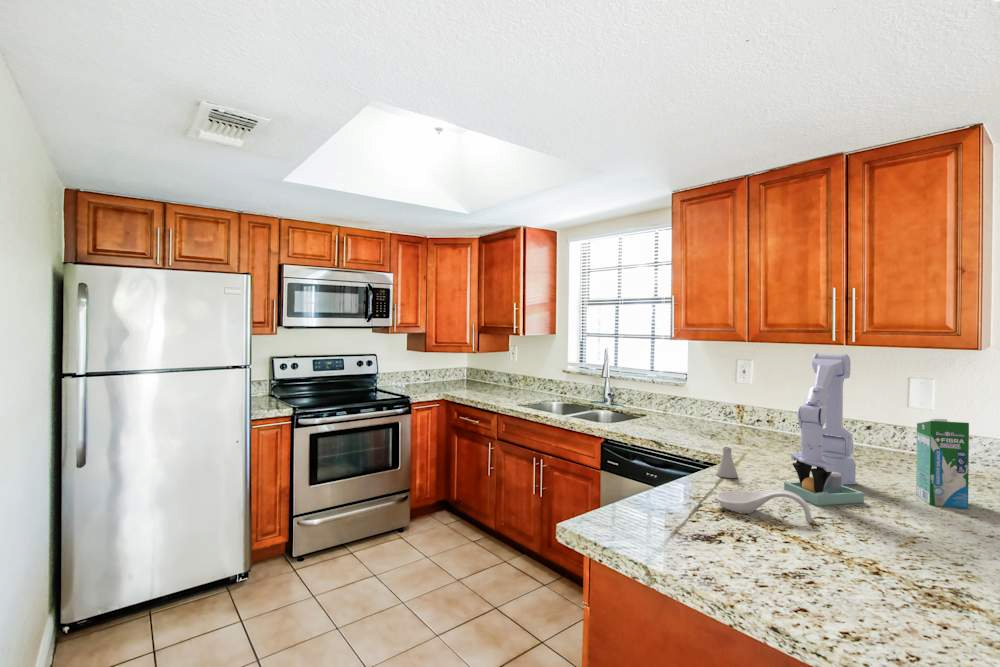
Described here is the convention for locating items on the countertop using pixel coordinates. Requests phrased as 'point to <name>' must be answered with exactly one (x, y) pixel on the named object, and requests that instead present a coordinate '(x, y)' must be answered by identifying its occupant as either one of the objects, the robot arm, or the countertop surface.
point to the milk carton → (943, 463)
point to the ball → (808, 484)
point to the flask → (727, 465)
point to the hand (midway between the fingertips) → (811, 489)
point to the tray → (826, 495)
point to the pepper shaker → (833, 483)
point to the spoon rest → (757, 500)
